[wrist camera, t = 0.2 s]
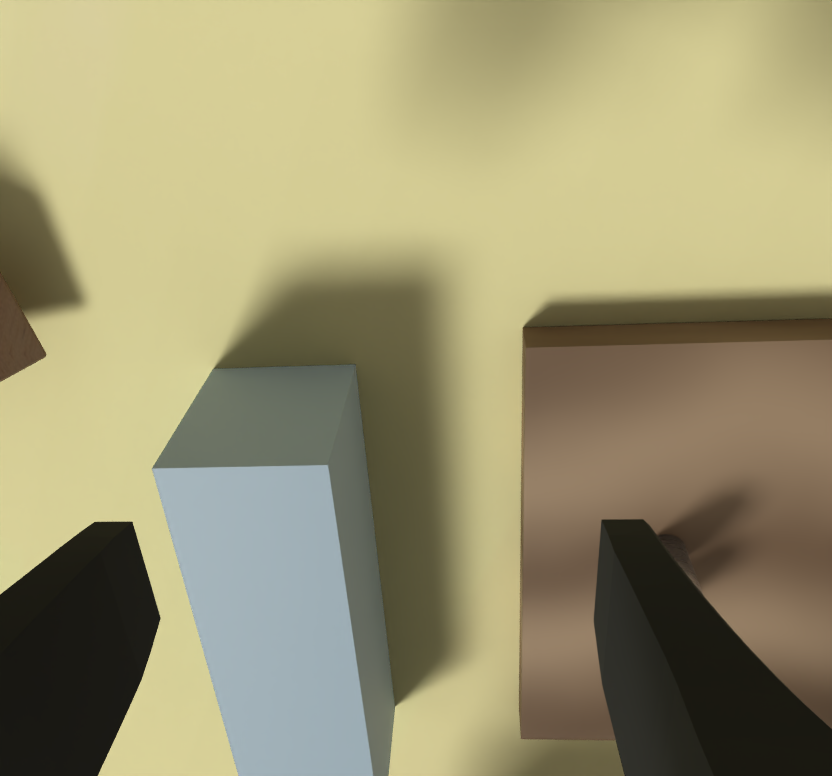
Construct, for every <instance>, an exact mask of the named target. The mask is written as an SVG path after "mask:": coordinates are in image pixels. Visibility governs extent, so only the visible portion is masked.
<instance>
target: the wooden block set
mask: <svg viewBox="0 0 832 776" xmlns="http://www.w3.org/2000/svg"><path fill="white" fill-rule="evenodd" d="M45 356H46V352H45V351H44V349H43V347H42V345H41V343H40V342H39V340H38V338H37V336H36V335H35V333H34V331H33V329H32V327H31V326H30V324H29V322H28V320H27V319H26V317H25V315H24V313H23V312H22V310H21V308H20V306H19V304H18V303H17V301H16V299H15V297H14V296H13V294H12V292H11V290H10V288H9V287H8V285H7V283H6V281H5V280H4V278H3V276H2V274H1V273H0V382H1V381H3V380H5V379H6V378H8V377H10V376H12V375H14V374H16V373H17V372H19V371H21V370H23V369H25V368H26V367H28V366H30V365H32V364H34V363H36V362H37V361H39V360H41V359H43V358H44V357H45Z"/></svg>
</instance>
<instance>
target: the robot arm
mask: <svg viewBox="0 0 832 776" xmlns="http://www.w3.org/2000/svg"><path fill="white" fill-rule="evenodd" d="M159 622H160V615H159V611H158V608H157V605H156V601H155V598H154V594H153V591H152V587H151V584H150V581H149V577H148V574H147V570H146V567H145V563H144V560H143V557H142V553H141V550H140V546H139V543H138V540H137V536H136V533H135V529H134V526H133V522H94V523H93V524H91V525H90V526H88V527H87V528H86V529H84V530H83V531H81V532H80V533H79V534H77V535H76V536H75V537H73V538H72V539H71V540H69V541H68V542H67V543H65V544H64V545H63V546H62V547H60V548H59V549H58V550H56V551H55V552H54V553H53V554H51V555H50V556H49V557H48V558H46V559H45V560H44V561H42V562H41V563H40V564H39V565H37V566H36V567H35V568H34V569H32V570H31V571H30V572H29V573H27V574H26V575H25V576H23V577H22V578H21V579H20V580H18V581H17V582H16V583H14V584H13V585H12V586H11V587H9V588H8V589H7V590H5V591H4V592H3V593H2V594H0V776H98V774H99V772H100V769H101V767H102V765H103V763H104V761H105V759H106V756H107V754H108V752H109V750H110V748H111V746H112V744H113V741H114V739H115V737H116V735H117V733H118V731H119V729H120V726H121V724H122V722H123V720H124V718H125V715H126V713H127V711H128V709H129V707H130V704H131V702H132V700H133V698H134V696H135V693H136V691H137V689H138V686H139V684H140V682H141V680H142V677H143V674H144V670H145V667H146V664H147V661H148V658H149V655H150V652H151V649H152V645H153V642H154V639H155V635H156V632H157V628H158V625H159ZM594 628H595V636H596V644H597V652H598V659H599V666H600V673H601V680H602V686H603V690H604V695H605V699H606V703H607V707H608V711H609V715H610V719H611V723H612V727H613V731H614V735H615V739H616V743H617V747H618V751H619V755H620V759H621V763H622V767H623V771H624V775H625V776H832V729H831V728H830V727H829V726H828V725H827V724H826V723H825V722H824V721H823V720H822V719H820V718H819V717H818V716H817V715H816V714H815V713H814V712H813V711H812V710H811V709H809V708H808V707H807V706H806V705H805V704H804V703H803V702H802V701H801V700H800V699H799V698H798V697H797V696H796V695H795V694H794V693H793V692H792V691H791V690H790V689H789V688H788V687H787V686H786V685H785V684H784V683H783V682H782V681H781V680H780V679H779V678H778V677H777V676H776V675H775V674H774V673H773V672H772V671H771V670H770V669H769V668H768V667H767V666H766V665H765V664H764V663H763V662H762V661H761V660H760V659H759V658H758V657H757V656H756V654H755V653H754V652H753V651H752V650H751V649H750V648H749V647H748V646H747V645H746V644H745V643H744V642H743V640H742V639H741V638H740V637H739V636H738V635H737V634H736V633H735V632H734V631H733V629H732V628H731V627H730V626H729V625H728V624H727V622H726V621H725V620H724V619H723V618H722V617H721V615H720V614H719V613H718V612H717V611H716V610H715V608H714V607H713V606H712V605H711V604H710V603H709V601H708V600H707V599H706V598H705V597H704V596H703V594H702V593H701V592H700V591H699V589H698V588H697V587H696V586H695V584H694V583H693V582H692V581H691V579H690V578H689V577H688V576H687V574H686V573H685V572H684V571H683V569H682V568H681V567H680V565H679V564H678V563H677V562H676V560H675V559H674V558H673V556H672V555H671V554H670V552H669V551H668V550H667V548H666V547H665V546H664V544H663V543H662V541H661V540H660V539H659V537H658V536H657V535H656V533H655V532H654V530H653V529H652V528H651V526H650V525H649V524H648V523H647V522H646V521H645V520H644V519H601V532H600V544H599V557H598V570H597V583H596V595H595V608H594Z"/></svg>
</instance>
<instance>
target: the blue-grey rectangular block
mask: <svg viewBox="0 0 832 776" xmlns="http://www.w3.org/2000/svg"><path fill="white" fill-rule="evenodd" d="M152 470H153V474H154V477H155V481H156V484H157V488H158V492H159V495H160V499H161V502H162V506H163V509H164V513H165V516H166V520H167V523H168V527H169V531H170V534H171V538H172V541H173V545H174V548H175V552H176V555H177V559H178V562H179V566H180V570H181V573H182V577H183V580H184V584H185V587H186V591H187V594H188V598H189V602H190V605H191V609H192V612H193V616H194V619H195V623H196V626H197V630H198V633H199V637H200V641H201V644H202V648H203V651H204V655H205V658H206V662H207V665H208V669H209V673H210V676H211V680H212V683H213V687H214V690H215V694H216V697H217V701H218V704H219V708H220V712H221V715H222V719H223V722H224V726H225V729H226V733H227V736H228V740H229V743H230V747H231V751H232V754H233V758H234V761H235V765H236V768H237V772H238V775H239V776H388V774H389V764H390V753H391V743H392V733H393V722H394V712H395V702H394V694H393V685H392V676H391V668H390V659H389V650H388V642H387V633H386V624H385V616H384V607H383V598H382V590H381V581H380V572H379V564H378V555H377V546H376V538H375V529H374V520H373V512H372V503H371V494H370V486H369V477H368V468H367V460H366V451H365V442H364V434H363V425H362V417H361V408H360V399H359V391H358V382H357V373H356V365H355V364H351V365H317V366H284V367H251V368H218V369H213V370H212V372H211V373H210V375H209V377H208V378H207V380H206V381H205V383H204V385H203V386H202V388H201V390H200V391H199V393H198V394H197V396H196V398H195V399H194V401H193V403H192V404H191V406H190V407H189V409H188V411H187V412H186V414H185V416H184V417H183V419H182V421H181V422H180V424H179V425H178V427H177V429H176V430H175V432H174V434H173V435H172V437H171V438H170V440H169V442H168V443H167V445H166V447H165V448H164V450H163V452H162V453H161V455H160V456H159V458H158V460H157V461H156V463H155V465H154V466H153V468H152Z"/></svg>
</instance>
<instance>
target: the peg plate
mask: <svg viewBox="0 0 832 776" xmlns="http://www.w3.org/2000/svg"><path fill="white" fill-rule="evenodd" d="M601 519H644V520H645V521H646V522H647V523H648V524H649V525H650V526H651V528H652V529H653V530H654V532H655V533H656V535H657V536H658V537H659V539H660V540H661V541H662V543H663V544H664V546H665V547H666V548H667V550H668V551H669V552H670V554H671V555H672V556H673V558H674V559H675V560H676V562H677V563H678V564H679V565H680V567H681V568H682V569H683V571H684V572H685V573H686V574H687V576H688V577H689V578H690V579H691V581H692V582H693V583H694V584H695V586H696V587H697V588H698V589H699V591H700V592H701V593H702V594H703V596H704V597H705V598H706V599H707V600H708V601H709V603H710V604H711V605H712V606H713V607H714V608H715V610H716V611H717V612H718V613H719V614H720V615H721V617H722V618H723V619H724V620H725V621H726V622H727V624H728V625H729V626H730V627H731V628H732V629H733V631H734V632H735V633H736V634H737V635H738V636H739V637H740V638H741V639H742V640H743V642H744V643H745V644H746V645H747V646H748V647H749V648H750V649H751V650H752V651H753V652H754V653H755V654H756V656H757V657H758V658H759V659H760V660H761V661H762V662H763V663H764V664H765V665H766V666H767V667H768V668H769V669H770V670H771V671H772V672H773V673H774V674H775V675H776V676H777V677H778V678H779V679H780V680H781V681H782V682H783V683H784V684H785V685H786V686H787V687H788V688H789V689H790V690H791V691H792V692H793V693H794V694H795V695H796V696H797V697H798V698H799V699H800V700H801V701H802V702H803V703H804V704H805V705H806V706H807V707H808V708H809V709H811V710H812V711H813V712H814V713H815V714H816V715H817V716H818V717H819V718H820V719H822V720H823V721H824V722H825V723H826V724H827V725H828V726H829V727H830V728H831V729H832V319H803V320H768V321H733V322H698V323H663V324H628V325H593V326H558V327H523V354H522V458H521V561H520V665H519V716H520V730H521V739H555V740H616V739H615V735H614V731H613V727H612V723H611V719H610V715H609V711H608V707H607V703H606V699H605V695H604V690H603V686H602V680H601V673H600V666H599V659H598V652H597V644H596V636H595V628H594V608H595V595H596V583H597V570H598V557H599V544H600V532H601Z"/></svg>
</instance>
